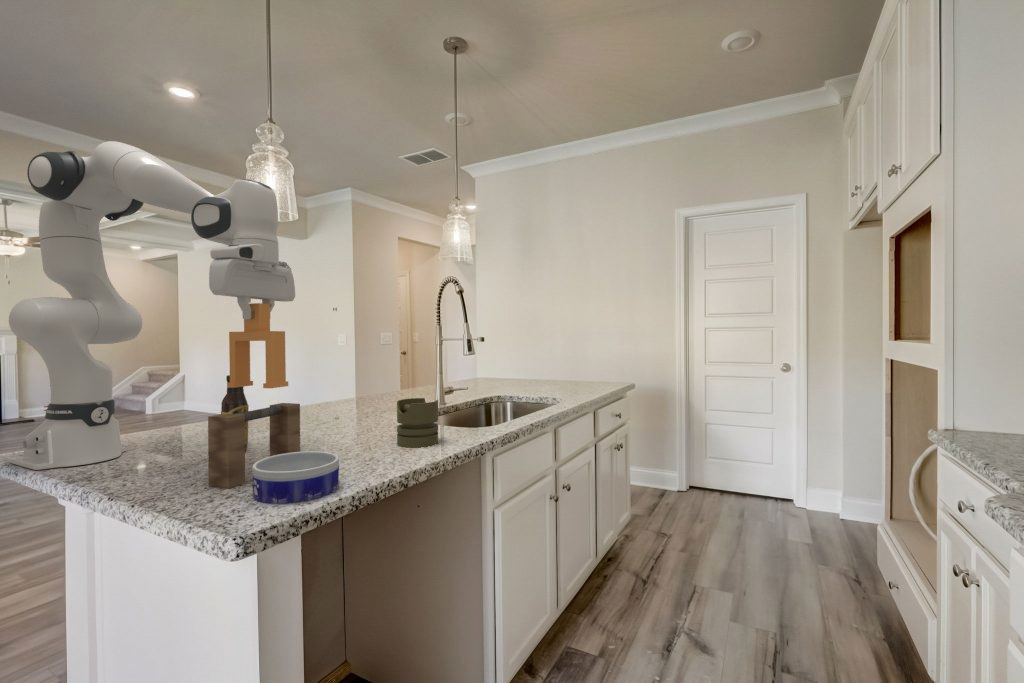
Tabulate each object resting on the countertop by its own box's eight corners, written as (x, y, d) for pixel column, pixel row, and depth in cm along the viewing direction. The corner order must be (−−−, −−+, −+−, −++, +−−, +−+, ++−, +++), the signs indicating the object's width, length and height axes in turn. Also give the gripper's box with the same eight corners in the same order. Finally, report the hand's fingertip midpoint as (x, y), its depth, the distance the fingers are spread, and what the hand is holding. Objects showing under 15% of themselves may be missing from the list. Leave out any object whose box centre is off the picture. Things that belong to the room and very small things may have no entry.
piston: (420, 397, 140) (446, 400, 132) (420, 437, 140) (446, 442, 133) (388, 401, 131) (414, 404, 124) (388, 443, 131) (414, 450, 124)
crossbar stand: (208, 486, 93) (208, 416, 93) (282, 461, 113) (282, 402, 113) (228, 488, 92) (228, 417, 92) (300, 462, 111) (299, 403, 111)
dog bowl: (354, 489, 92) (354, 459, 92) (273, 511, 81) (273, 476, 81) (315, 475, 102) (315, 447, 102) (239, 492, 90) (239, 461, 90)
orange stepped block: (227, 387, 101) (225, 304, 101) (245, 385, 106) (244, 305, 106) (271, 388, 98) (269, 302, 98) (288, 386, 103) (287, 303, 103)
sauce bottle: (235, 454, 119) (234, 376, 119) (214, 453, 120) (213, 376, 120) (254, 448, 125) (253, 374, 125) (234, 447, 127) (233, 374, 126)
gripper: (279, 264, 113) (280, 321, 113) (202, 248, 93) (203, 318, 93) (301, 262, 111) (302, 321, 111) (228, 246, 91) (229, 317, 92)
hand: (256, 319), depth 102 cm, fingers closed on orange stepped block, 3 cm apart
